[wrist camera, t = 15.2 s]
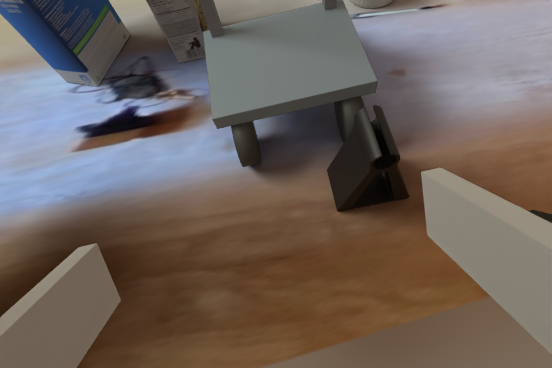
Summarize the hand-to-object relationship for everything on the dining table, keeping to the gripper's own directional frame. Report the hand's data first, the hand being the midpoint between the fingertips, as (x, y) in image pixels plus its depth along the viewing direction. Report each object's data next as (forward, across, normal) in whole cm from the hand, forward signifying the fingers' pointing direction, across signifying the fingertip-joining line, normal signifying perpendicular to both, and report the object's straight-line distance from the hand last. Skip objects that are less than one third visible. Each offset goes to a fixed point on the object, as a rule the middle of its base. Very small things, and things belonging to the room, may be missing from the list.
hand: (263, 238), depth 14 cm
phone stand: (+29, +11, -10) cm, 33 cm away
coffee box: (+54, -10, +15) cm, 57 cm away
